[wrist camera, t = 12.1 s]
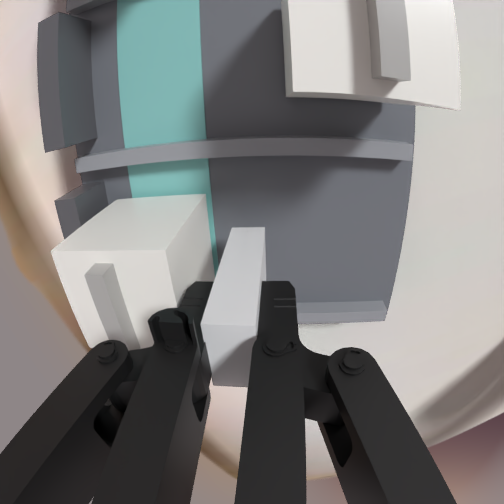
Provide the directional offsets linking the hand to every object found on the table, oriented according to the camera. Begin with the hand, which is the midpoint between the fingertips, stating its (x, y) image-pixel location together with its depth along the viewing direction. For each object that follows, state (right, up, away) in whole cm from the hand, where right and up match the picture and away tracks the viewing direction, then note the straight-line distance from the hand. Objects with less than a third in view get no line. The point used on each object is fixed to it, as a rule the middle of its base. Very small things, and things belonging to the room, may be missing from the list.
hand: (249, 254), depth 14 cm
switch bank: (-1, +10, -1) cm, 10 cm away
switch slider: (-5, +1, +2) cm, 5 cm away
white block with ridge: (+4, +9, -3) cm, 11 cm away
